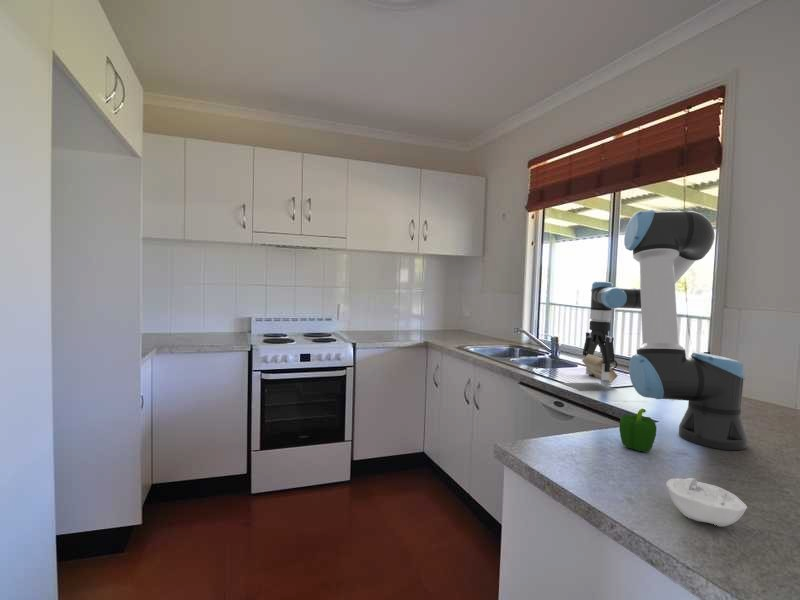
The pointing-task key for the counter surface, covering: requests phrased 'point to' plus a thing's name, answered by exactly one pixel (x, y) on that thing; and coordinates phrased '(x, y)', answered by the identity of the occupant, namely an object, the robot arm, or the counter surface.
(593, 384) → the mat
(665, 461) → the counter surface
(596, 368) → the birch block
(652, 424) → the bell pepper
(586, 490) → the counter surface
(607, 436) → the counter surface
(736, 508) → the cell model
